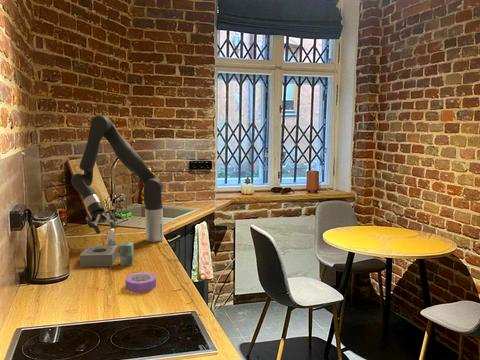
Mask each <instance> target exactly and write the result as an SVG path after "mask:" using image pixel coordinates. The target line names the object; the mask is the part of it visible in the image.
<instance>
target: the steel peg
mask: <svg viewBox="0 0 480 360" xmlns="http://www.w3.org/2000/svg"><path fill="white" fill-rule="evenodd" d="M116 243H117V242H116V229H115V228H111V227H108V228H106V244H107V245H106V246H117V244H116Z"/></svg>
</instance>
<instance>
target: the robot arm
mask: <svg viewBox="0 0 480 360" xmlns="http://www.w3.org/2000/svg"><path fill="white" fill-rule="evenodd" d="M103 137H104V138H105V140H106V141H107V142H108V143H109V144H110V146H111V149H112V150H113V152H114V154H115V156H116V157H117V158H118V160H119V161H120V162H121V163H122V165H123V166H124V167H125V168H127V169H128V170H129V171H130V172H132V173H133V174H134V175H135V176H136V177H137V178H138V179H139V180H140V181H141V182H142V184H143V203H144V219H145V220H144V223H145V229H144V230H145V241H146V242H150V243H151V242H153V243H155V242H162V241H164V233H165V232H164V218H163V217H164V216H163V215H164V214H163V211H164V210H163V200H162V191H163V189H164V188H163V187H164V185H163V182H162V181H161V179H160V178H159V177H158V176H157V175H156V174H154V172H153V171H151V170H150V168H149V167H148V166H147V164H146V163H145V161H144V160H143V159H142V157H140V155H139V153H137V151H136V150H135V149H134V147H133V146H132V145H131V144H130V143H129V142H128V141H127V140H126V139H125V138H124V137H123V136H122V135H121V133H120V132H119V131H118V130H117V128H116V126H115V124H113V122H112V121H111V119H110V118H109V117H107V116H106V115H100V114H99V115H96V116H94V117H92V119H91V120H90V126H89V132H88V137H87V141H86V144H85V145H86V146H85V149H84V152H83V154H82V157H81V160H80V163H79V169H81V170H82V171H83V173H75V174H73V175H72V176H71V179H70V182H71V183H70V184H71V185H72V187H73V188H74V190H76V192H77V193H78V194H79V195H80V196H81V198H82V200H83V202H84V205H85V208H86V210H87V212H88V213H89V214H88V215H87V216H86V217H85V221H86V222H87V226H88V228H89V229H91V228H93V230H94V231H95V233H96V234H97V235H99V234H101V230H100V227H99V226H98V224H100V223H105V224H109V225H110V228H115V230H116V229H117V226H116V224H115V223H116V222H117V218H116V217H115V215H114V213H113V212H112V211H109V212H106V210H105V207H104V205H103V203H102V201H101V199H100V198H99V196H98V195H97V193H96V191H95V189H94V187H92V186H91V185H92V184H93V182H94V181H93V177H94V168H95V164H96V161H97V158H98V154H99V147H100V145H101V144H100V142H101V140H102V138H103ZM93 221H94V222H93Z"/></svg>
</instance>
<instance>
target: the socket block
mask: <svg viewBox="0 0 480 360" xmlns="http://www.w3.org/2000/svg"><path fill="white" fill-rule="evenodd" d="M118 258H119V245H116V246H107V245H87V246H86V248H85V249H83V251H82V252H81V253H80V254H79V267H107V266H108V267H113V266H114V265H115V262H116V261H117V259H118Z"/></svg>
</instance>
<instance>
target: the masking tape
mask: <svg viewBox="0 0 480 360" xmlns="http://www.w3.org/2000/svg"><path fill="white" fill-rule="evenodd" d="M156 287H157V276H156V275H155V273H154V274H153V273H151V272H145V271H144V272H135V273H131V274H129V275H127V276H126V277H125V290H126V289H127V290H126V291H128V290H129V291H128V292H131V291H132V293H144V292H145V291H146V292H149V290H150V291H151V290H153V289H155V288H156Z"/></svg>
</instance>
